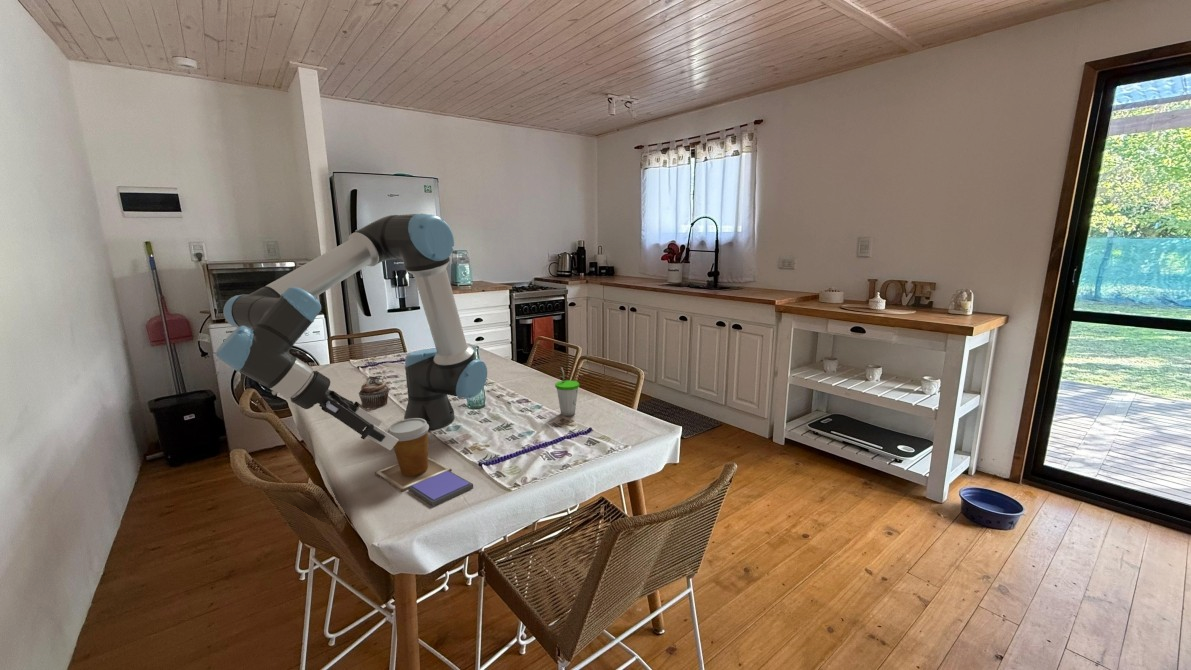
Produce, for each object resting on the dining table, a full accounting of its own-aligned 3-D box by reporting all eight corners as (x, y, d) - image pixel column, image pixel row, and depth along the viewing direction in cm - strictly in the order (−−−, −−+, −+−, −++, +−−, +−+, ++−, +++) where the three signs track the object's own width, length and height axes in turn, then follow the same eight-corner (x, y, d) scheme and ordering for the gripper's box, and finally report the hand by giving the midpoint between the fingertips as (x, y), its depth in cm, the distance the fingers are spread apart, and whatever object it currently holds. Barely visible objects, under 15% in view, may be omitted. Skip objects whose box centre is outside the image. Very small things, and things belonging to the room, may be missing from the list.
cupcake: (360, 402, 173) (357, 375, 171) (389, 398, 177) (387, 372, 175) (359, 411, 164) (356, 382, 162) (390, 406, 168) (388, 379, 166)
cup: (579, 418, 157) (578, 373, 154) (554, 418, 157) (553, 373, 154) (580, 409, 164) (579, 366, 161) (557, 409, 164) (556, 366, 161)
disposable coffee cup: (439, 459, 126) (433, 416, 123) (428, 478, 117) (421, 432, 114) (402, 461, 126) (395, 418, 123) (388, 481, 117) (380, 434, 114)
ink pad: (448, 474, 120) (448, 469, 120) (473, 487, 114) (473, 483, 114) (408, 490, 113) (408, 485, 113) (433, 506, 106) (432, 501, 106)
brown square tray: (423, 455, 130) (423, 453, 130) (451, 471, 122) (451, 468, 122) (375, 474, 121) (374, 471, 121) (401, 491, 112) (401, 489, 112)
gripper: (282, 384, 108) (361, 431, 120) (296, 417, 89) (389, 469, 101) (306, 358, 110) (382, 406, 122) (325, 383, 91) (413, 438, 103)
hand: (385, 435), depth 112 cm, fingers open, 13 cm apart
